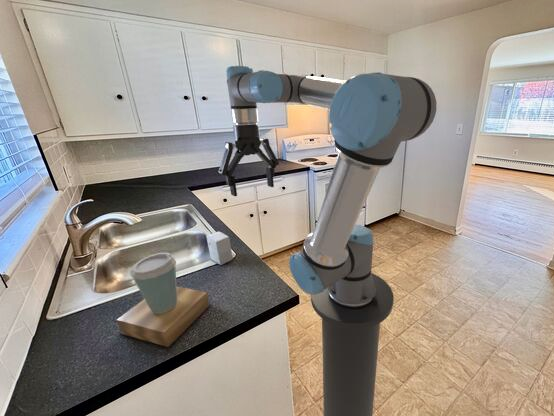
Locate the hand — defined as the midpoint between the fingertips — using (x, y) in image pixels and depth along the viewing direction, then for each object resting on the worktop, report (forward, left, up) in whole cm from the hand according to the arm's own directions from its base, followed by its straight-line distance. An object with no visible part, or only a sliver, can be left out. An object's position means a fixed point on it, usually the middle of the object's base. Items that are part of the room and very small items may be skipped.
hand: (253, 190), depth 89 cm
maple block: (+15, +29, -32) cm, 45 cm away
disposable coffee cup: (+15, +29, -27) cm, 42 cm away
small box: (+20, -3, -32) cm, 38 cm away
